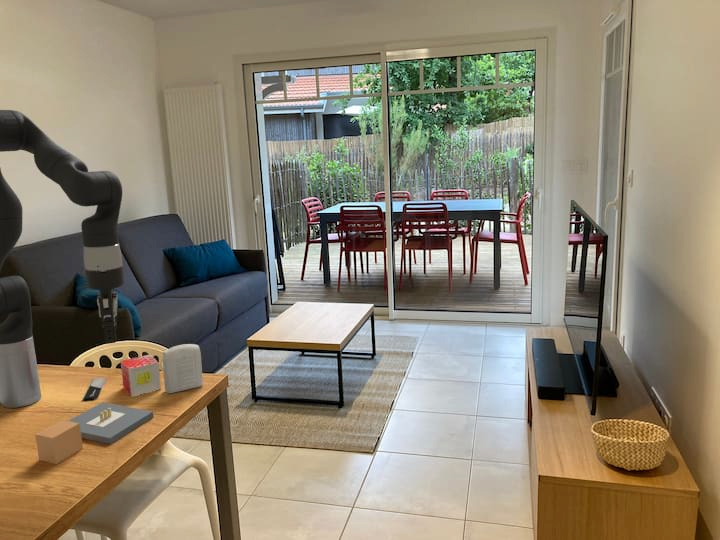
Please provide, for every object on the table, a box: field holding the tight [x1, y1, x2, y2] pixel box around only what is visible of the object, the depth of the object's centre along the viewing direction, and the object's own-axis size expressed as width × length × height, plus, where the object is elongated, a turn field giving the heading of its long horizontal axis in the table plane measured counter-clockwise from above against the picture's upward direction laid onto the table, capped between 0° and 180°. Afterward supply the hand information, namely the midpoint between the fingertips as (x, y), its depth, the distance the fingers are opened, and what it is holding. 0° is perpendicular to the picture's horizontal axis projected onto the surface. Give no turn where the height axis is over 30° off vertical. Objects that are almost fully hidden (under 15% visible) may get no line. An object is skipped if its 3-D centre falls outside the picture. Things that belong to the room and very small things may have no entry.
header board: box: [68, 401, 154, 445], centre depth 140 cm, size 16×14×4 cm
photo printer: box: [162, 343, 204, 394], centre depth 160 cm, size 10×4×12 cm, turn 123°
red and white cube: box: [120, 354, 162, 398], centre depth 160 cm, size 8×8×8 cm
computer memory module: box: [80, 377, 107, 403], centre depth 161 cm, size 15×1×4 cm
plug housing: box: [35, 419, 84, 465], centre depth 127 cm, size 5×7×6 cm
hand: (111, 336), depth 130 cm, fingers open, 8 cm apart
